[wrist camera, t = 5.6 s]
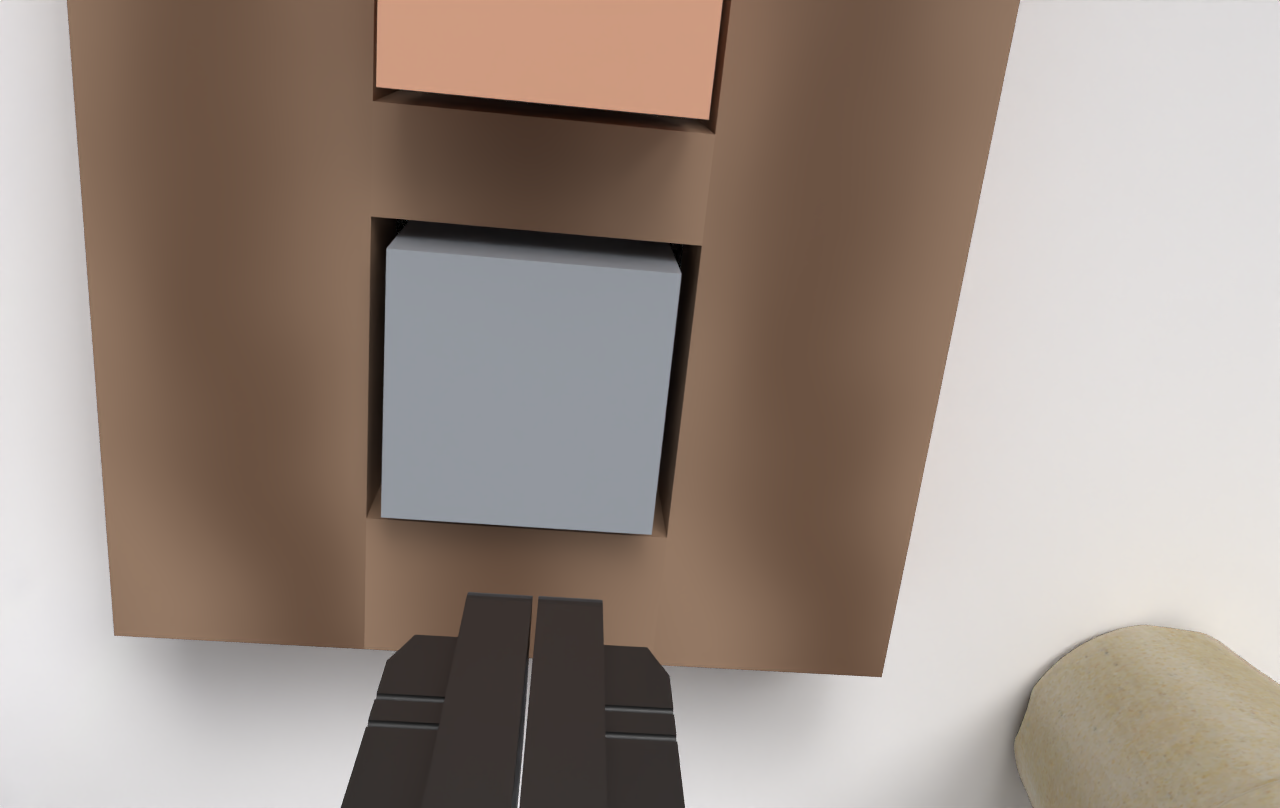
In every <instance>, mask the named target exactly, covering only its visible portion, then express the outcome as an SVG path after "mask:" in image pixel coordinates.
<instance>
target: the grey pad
mask: <svg viewBox="0 0 1280 808" xmlns="http://www.w3.org/2000/svg"><path fill="white" fill-rule="evenodd" d="M680 283H681V271H680V269H679V266H678V264H677V261H676V259H675V256H674V254H673V251H672V249H671V246H670V244H669V243H666V242H654V241H643V240H632V239H620V238H609V237H598V236H586V235H575V234H564V233H552V232H541V231H530V230H518V229H507V228H496V227H484V226H473V225H462V224H450V223H439V222H428V221H416V220H409V222H408V223H407V224H406V225H405V226H404V228H403V229H402V230H401V231H400V233H399V234H398V235H397V236H396V237H395V239H394V240H393V241H392V242H391V244H390V245H389V246H388V247H387V249H386V296H385V345H384V394H383V443H382V492H381V517H383V518H398V519H414V520H429V521H445V522H460V523H476V524H491V525H507V526H522V527H537V528H553V529H568V530H584V531H599V532H615V533H630V534H646V535H652V528H653V519H654V510H655V501H656V493H657V484H658V475H659V467H660V458H661V449H662V440H663V432H664V423H665V414H666V405H667V397H668V388H669V379H670V370H671V362H672V353H673V344H674V336H675V327H676V318H677V309H678V301H679V292H680Z"/></svg>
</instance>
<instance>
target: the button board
mask: <svg viewBox="0 0 1280 808" xmlns="http://www.w3.org/2000/svg"><path fill="white" fill-rule="evenodd" d="M1019 3H1020V0H723V3H722V11H721V20H720V28H719V37H718V45H717V54H716V62H715V71H714V79H713V88H712V96H711V105H710V113H709V120H707V119H690V118H679V117H669V116H659V115H649V114H639V113H629V112H618V111H608V110H598V109H588V108H578V107H568V106H557V105H547V104H537V103H527V102H517V101H507V100H496V99H486V98H476V97H466V96H456V95H446V94H435V93H425V92H415V91H405V90H400V89H392V88H382V87H376V68H377V7H378V0H67V8H68V21H69V34H70V48H71V61H72V74H73V88H74V101H75V115H76V128H77V141H78V155H79V168H80V182H81V195H82V208H83V222H84V235H85V249H86V262H87V275H88V289H89V302H90V315H91V329H92V342H93V356H94V369H95V382H96V396H97V409H98V423H99V436H100V449H101V463H102V476H103V490H104V503H105V516H106V530H107V543H108V556H109V570H110V583H111V597H112V610H113V623H114V635H115V636H133V637H152V638H170V639H188V640H207V641H225V642H244V643H262V644H281V645H299V646H317V647H336V648H354V649H373V650H391V651H398V650H399V649H400V648H401V647H402V646H403V645H404V644H405V643H407V642H408V641H409V640H410V639H411V638H412V637H413V636H414V635H432V636H450V637H458V634H459V629H460V625H461V620H462V615H463V611H464V606H465V601H466V597H467V593H468V592H476V593H493V594H510V595H527V596H533V602H532V619H531V634H530V649H529V658H533V651H534V640H535V629H536V618H537V607H538V597H539V596H548V597H565V598H582V599H599V600H603V632H604V645H615V646H633V647H648V649H649V650H650V651H651V653H652V654H653V655H654V657H655V658H656V659H657V660H658V662H659V663H660V664H661V665H668V666H686V667H705V668H723V669H741V670H760V671H778V672H797V673H815V674H834V675H852V676H870V677H882V673H883V668H884V663H885V658H886V653H887V648H888V643H889V638H890V633H891V628H892V624H893V619H894V614H895V609H896V604H897V599H898V594H899V589H900V584H901V580H902V575H903V570H904V565H905V560H906V555H907V550H908V545H909V540H910V536H911V531H912V526H913V521H914V516H915V511H916V506H917V501H918V496H919V492H920V487H921V482H922V477H923V472H924V467H925V462H926V457H927V452H928V448H929V443H930V438H931V433H932V428H933V423H934V418H935V413H936V408H937V404H938V399H939V394H940V389H941V384H942V379H943V374H944V369H945V364H946V360H947V355H948V350H949V345H950V340H951V335H952V330H953V325H954V320H955V316H956V311H957V306H958V301H959V296H960V291H961V286H962V281H963V276H964V272H965V267H966V262H967V257H968V252H969V247H970V242H971V237H972V232H973V228H974V223H975V218H976V213H977V208H978V203H979V198H980V193H981V188H982V184H983V179H984V174H985V169H986V164H987V159H988V154H989V149H990V144H991V140H992V135H993V130H994V125H995V120H996V115H997V110H998V105H999V100H1000V96H1001V91H1002V86H1003V81H1004V76H1005V71H1006V66H1007V61H1008V56H1009V52H1010V47H1011V42H1012V37H1013V32H1014V27H1015V22H1016V17H1017V12H1018V8H1019ZM397 219H405V220H416V221H428V222H439V223H450V224H462V225H473V226H484V227H496V228H507V229H518V230H530V231H541V232H552V233H564V234H575V235H586V236H598V237H609V238H620V239H632V240H643V241H654V242H666V243H677V244H683V251H682V260H681V269H680V271H681V283H680V292H679V301H678V309H677V318H676V327H675V336H674V344H673V353H672V362H671V370H670V379H669V388H668V397H667V405H666V414H665V423H664V432H663V440H662V449H661V458H660V467H659V475H658V484H657V493H656V501H655V510H654V519H653V528H652V535H646V534H630V533H615V532H599V531H584V530H568V529H553V528H537V527H522V526H507V525H491V524H476V523H460V522H445V521H429V520H414V519H398V518H383V517H381V492H382V443H383V394H384V345H385V296H386V249H387V247H388V246H389V245H390V244H391V242H392V241H393V240H394V239H395V237H396V223H397Z"/></svg>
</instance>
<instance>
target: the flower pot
mask: <svg viewBox="0 0 1280 808" xmlns="http://www.w3.org/2000/svg"><path fill="white" fill-rule="evenodd" d="M1014 751H1015V759H1016V765H1017V769H1018V772H1019V775H1020V778H1021V781H1022V783H1023V785H1024V787H1025V789H1026V791H1027V794H1028V797H1029V799H1030V802H1031V804H1032V807H1033V808H1280V685H1279V684H1278V683H1277V682H1275V681H1274V680H1272V679H1271V678H1269V677H1268V676H1266V675H1265V674H1264V673H1262V672H1261V671H1259V670H1258V669H1256V668H1255V667H1253V666H1252V665H1251V664H1249V663H1248V662H1247V661H1245V660H1244V659H1242V658H1241V657H1240V656H1238V655H1237V654H1236V653H1234V652H1233V651H1232V650H1230V649H1229V648H1228V647H1226V646H1225V645H1224V644H1222V643H1221V642H1220V641H1218V640H1216V639H1214V638H1213V637H1211V636H1209V635H1207V634H1204V633H1200V632H1194V631H1187V630H1180V629H1174V628H1166V627H1158V626H1150V625H1137V626H1131V627H1126V628H1121V629H1118V630H1115V631H1111V632H1108V633H1106V634H1103V635H1100V636H1098V637H1096V638H1094V639H1092V640H1090V641H1088V642H1086V643H1084V644H1082V645H1080V646H1079V647H1077V648H1075V649H1074V650H1072V651H1071V652H1070V653H1068V654H1067V655H1065V656H1064V657H1063V658H1061V659H1060V660H1059V661H1058V662H1057V663H1056V664H1055V665H1053V666H1052V667H1051V668H1050V669H1049V670H1048V671H1047V672H1046V673H1045V674H1044V675H1043V677H1042V678H1041V679H1040V680H1039V681H1038V682H1037V684H1036V685H1035V686H1034V688H1033V690H1032V692H1031V696H1030V701H1029V704H1028V707H1027V711H1026V713H1025V716H1024V719H1023V721H1022V724H1021V727H1020V730H1019V732H1018V734H1017V736H1016V738H1015V742H1014Z"/></svg>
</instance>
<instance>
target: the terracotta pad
mask: <svg viewBox="0 0 1280 808" xmlns="http://www.w3.org/2000/svg"><path fill="white" fill-rule="evenodd" d="M722 3H723V0H378V7H377V68H376V87H382V88H392V89H402V90H412V91H423V92H433V93H443V94H453V95H463V96H473V97H484V98H494V99H504V100H514V101H524V102H534V103H545V104H555V105H565V106H575V107H585V108H595V109H606V110H616V111H626V112H636V113H646V114H656V115H667V116H677V117H687V118H697V119H707V120H709V113H710V105H711V96H712V88H713V79H714V71H715V62H716V54H717V45H718V37H719V28H720V20H721V11H722Z"/></svg>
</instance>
